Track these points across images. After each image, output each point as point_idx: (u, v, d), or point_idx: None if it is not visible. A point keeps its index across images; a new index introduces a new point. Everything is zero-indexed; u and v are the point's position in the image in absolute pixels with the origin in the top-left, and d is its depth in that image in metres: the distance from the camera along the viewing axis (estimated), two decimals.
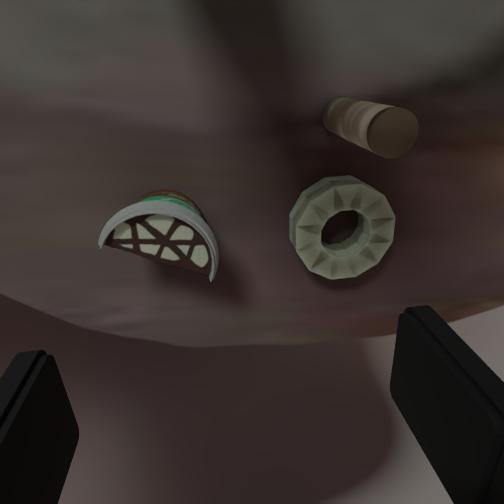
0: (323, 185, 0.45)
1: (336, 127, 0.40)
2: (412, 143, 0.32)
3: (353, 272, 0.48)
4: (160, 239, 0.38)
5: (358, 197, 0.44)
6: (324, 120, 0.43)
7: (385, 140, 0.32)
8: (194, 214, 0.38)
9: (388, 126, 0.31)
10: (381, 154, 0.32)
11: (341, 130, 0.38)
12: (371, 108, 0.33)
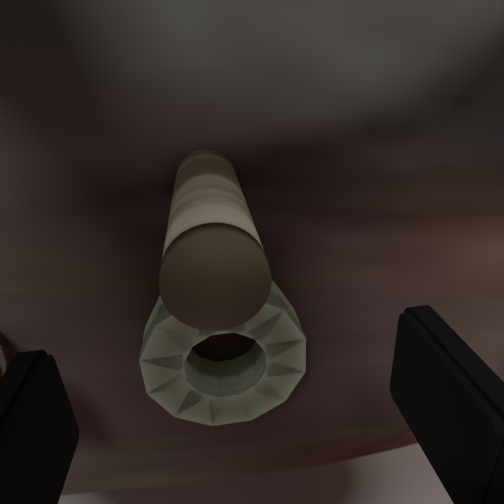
0: None
1: None
2: (261, 300, 0.14)
3: (247, 415, 0.31)
4: None
5: None
6: None
7: (195, 297, 0.14)
8: None
9: (196, 271, 0.13)
10: (193, 324, 0.14)
11: None
12: (185, 212, 0.15)
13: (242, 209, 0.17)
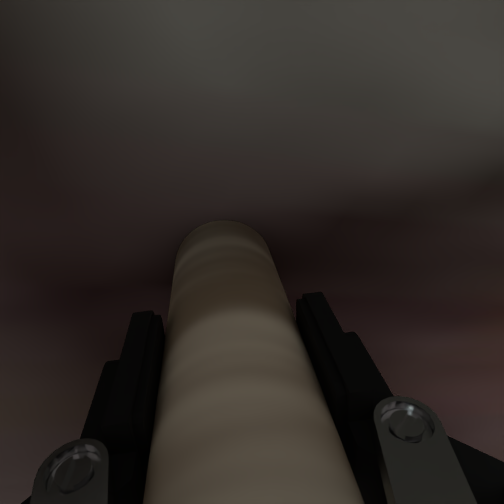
0: None
1: None
2: None
3: None
4: None
5: None
6: None
7: None
8: None
9: None
10: None
11: None
12: None
13: (334, 461, 0.07)
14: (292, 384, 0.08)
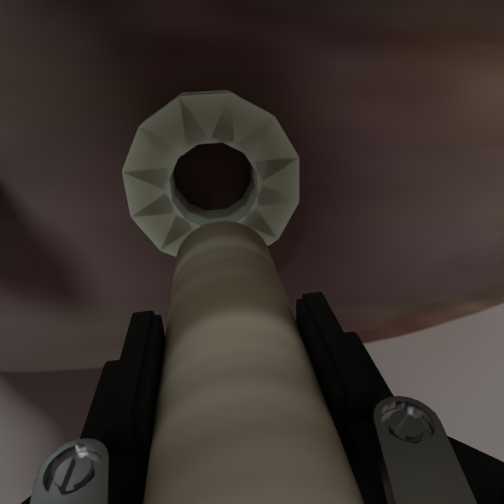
0: (171, 101, 0.26)
1: None
2: None
3: None
4: None
5: (227, 119, 0.25)
6: None
7: None
8: None
9: None
10: None
11: None
12: None
13: (334, 463, 0.06)
14: (292, 386, 0.08)
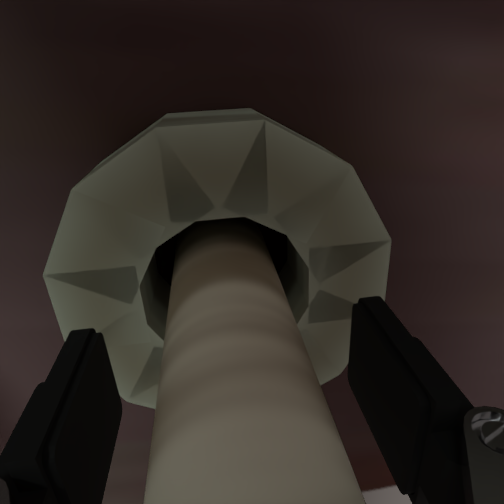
0: (143, 133, 0.13)
1: None
2: None
3: None
4: None
5: (256, 172, 0.12)
6: None
7: None
8: None
9: None
10: None
11: None
12: (192, 428, 0.07)
13: (311, 394, 0.08)
14: (279, 337, 0.09)
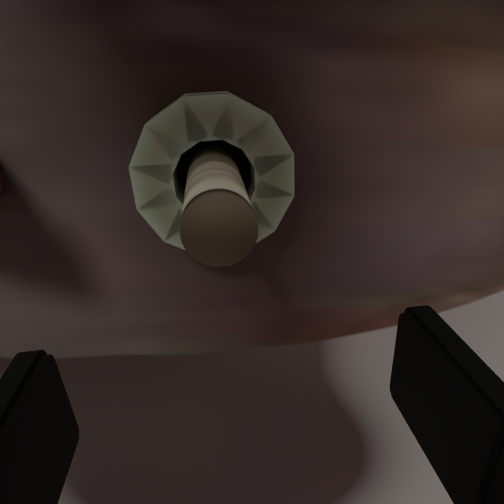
0: (175, 101, 0.28)
1: None
2: (251, 244, 0.20)
3: None
4: None
5: (227, 118, 0.27)
6: None
7: (205, 241, 0.20)
8: None
9: (206, 221, 0.19)
10: (203, 261, 0.20)
11: None
12: (197, 184, 0.22)
13: (239, 184, 0.23)
14: (230, 173, 0.24)
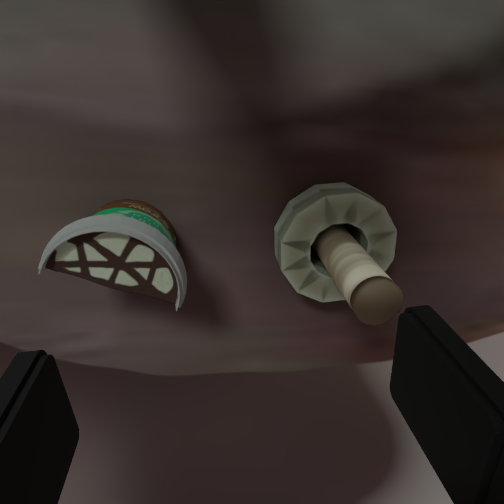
0: (312, 194, 0.39)
1: (322, 261, 0.39)
2: (397, 311, 0.31)
3: None
4: (113, 261, 0.32)
5: (353, 208, 0.38)
6: None
7: (368, 309, 0.31)
8: (155, 231, 0.32)
9: (372, 298, 0.30)
10: (365, 322, 0.31)
11: (327, 268, 0.37)
12: (355, 268, 0.32)
13: (378, 265, 0.33)
14: (367, 255, 0.35)
